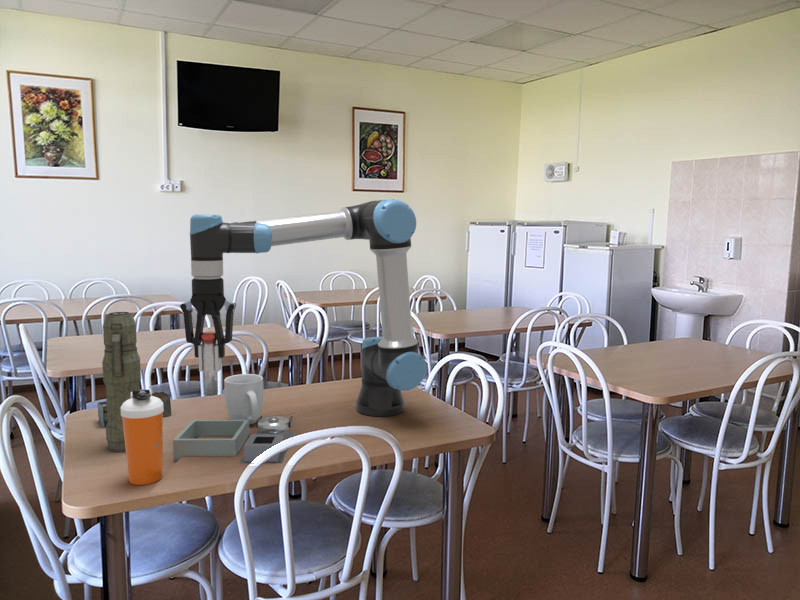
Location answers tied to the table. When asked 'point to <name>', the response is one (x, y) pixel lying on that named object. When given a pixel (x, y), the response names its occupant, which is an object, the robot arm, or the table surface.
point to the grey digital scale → (268, 438)
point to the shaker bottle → (143, 437)
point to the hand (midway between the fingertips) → (210, 370)
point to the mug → (244, 396)
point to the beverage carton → (161, 395)
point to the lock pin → (209, 363)
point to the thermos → (119, 372)
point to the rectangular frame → (192, 446)
